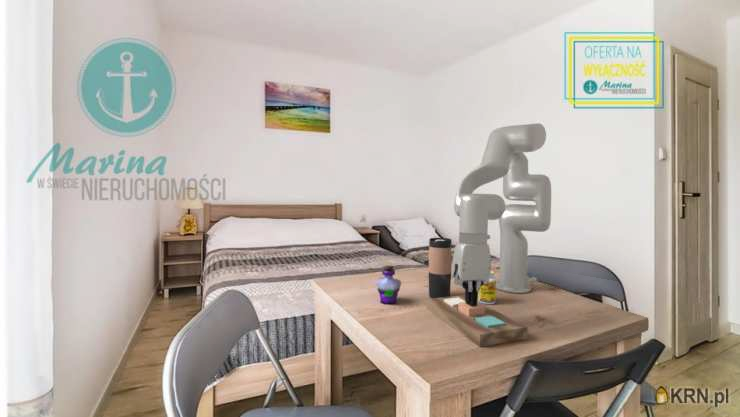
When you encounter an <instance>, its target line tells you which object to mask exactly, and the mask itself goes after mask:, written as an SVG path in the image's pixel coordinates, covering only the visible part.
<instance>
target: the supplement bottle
mask: <svg viewBox="0 0 740 417" xmlns="http://www.w3.org/2000/svg"><path fill="white" fill-rule="evenodd" d="M496 282H497V278H496V277H495V271H493V270H491V275H490V278H489V282H488V283H485V284H483V285H482V286H481V287H480V291H478V300H477V301H478V302H480V303H482V304H484V305H493V304H495V303H496V302H497V301H496V300H497V288H496Z"/></svg>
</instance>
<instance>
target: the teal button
mask: <svg viewBox="0 0 740 417" xmlns="http://www.w3.org/2000/svg"><path fill="white" fill-rule="evenodd" d="M475 321H476V322H478V323H480V324H481V325H483V326H485V327H486V328H493V327H500V326H505V323H504V322H502V321H501V320H499V319H497V318H495V317H493V316H486V317H479V318H475Z"/></svg>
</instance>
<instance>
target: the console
mask: <svg viewBox="0 0 740 417" xmlns="http://www.w3.org/2000/svg"><path fill="white" fill-rule="evenodd" d="M450 298H460V299H462V300H464V301H465V294H462V295H452V296H450V297H442V298H426V299H425V300H426V310H427V311H429V312H430V313H432V314H433V315H435V316H436V317H437V318H438V319H440V320H441V321H443V322H444V323H446V324H447V325H449V326H450V327H451V328H452V329H454V330H455V331H457V332H459V334H460V335H463V336H464V337H465V338H467V339H468V341H469V340H470V341H471V342H472V343H474V344H475V345H476V346H478V347H479V348H482V347H487V346H493V345H499V344H504V343H511V342H517V341H523V340H527V339H528V332H529V331H528V328H529V327H528V326H527V325H524V324H522V323H520V322H519V321H517V320H514V319H513V318H510V317H508V316H507V315H505V314H503V313H501V312H499V311H497V310H495V309H493V308H491V307H490V306H487V304H483V303H481V302H479V301H478V300H477V303H479V304H481V305H483V306H485V315H478V316H470V317H468V316H467V315H465V314H463V313H462V312H460V311H458V306H456V307H452V306H450V305H449V304H447V303H445V302H444V299H450ZM486 316H493V317H495V318H497V319H499V320H501V321H502V322H504V323H505V326H500V327H493V328H486V327H485V326H483V325H481V324H480V323H478V322H476V321H475V318H479V317H486Z"/></svg>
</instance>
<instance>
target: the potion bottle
mask: <svg viewBox="0 0 740 417" xmlns="http://www.w3.org/2000/svg"><path fill="white" fill-rule="evenodd" d="M381 272H382V273H381V274H382V275H383V277H382V278H379V279H375V280H376V281H375V282H376V287H377V292H378V293H379V299H380V304H383V305H388V306H389V305H391V306H393V305H395V304H397V300H398V295H399V292H400V289H401V285H402V282H401V280H400V279H397V278H394V277H393V276H394V275H396V271H395V269H394V265H384V266H383V268H382V271H381Z"/></svg>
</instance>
